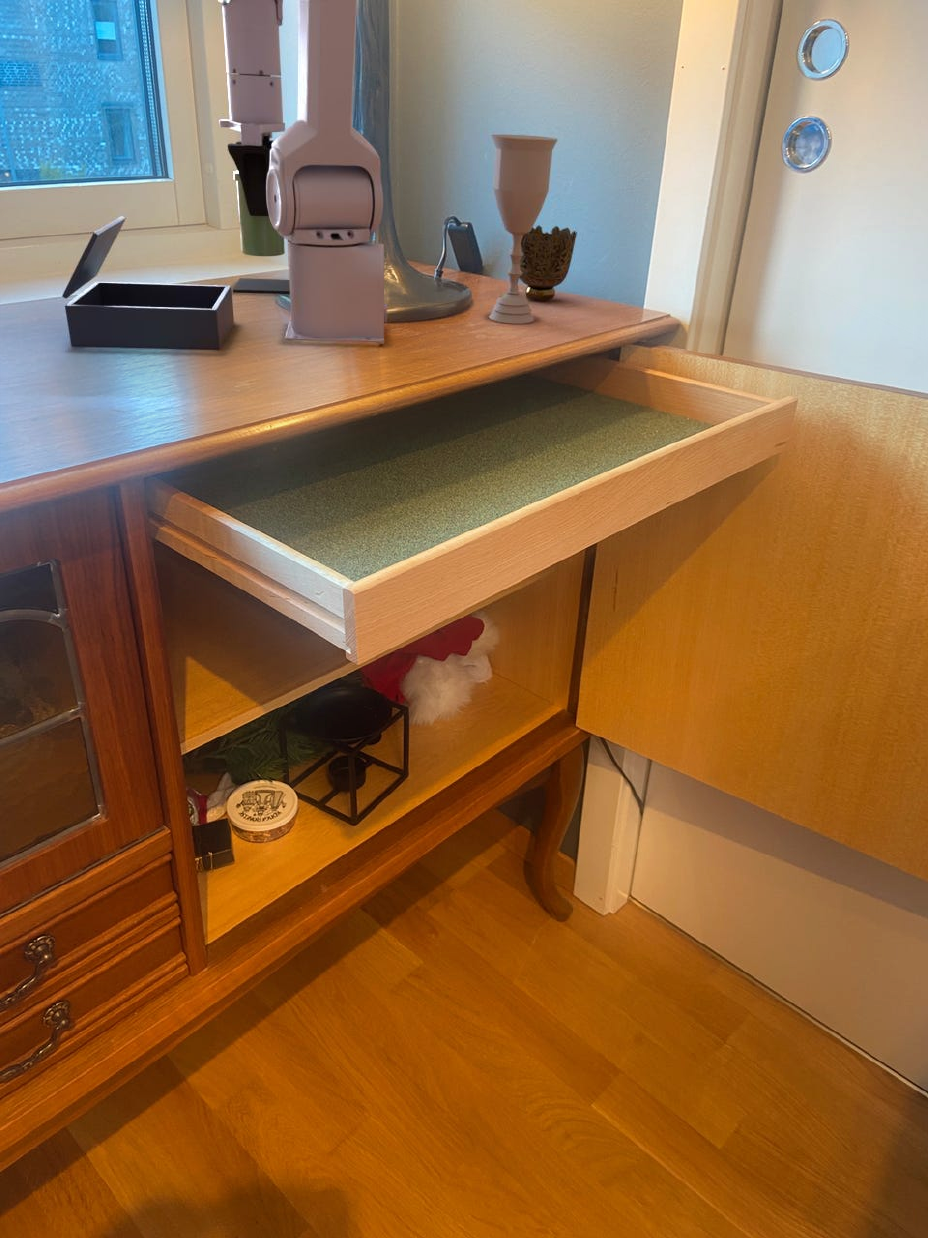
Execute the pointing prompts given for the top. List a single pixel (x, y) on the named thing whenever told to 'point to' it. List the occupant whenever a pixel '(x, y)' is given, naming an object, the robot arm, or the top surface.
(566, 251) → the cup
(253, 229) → the pot
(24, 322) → the top surface
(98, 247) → the flap
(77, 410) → the top surface
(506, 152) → the chalice
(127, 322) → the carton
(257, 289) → the mat
